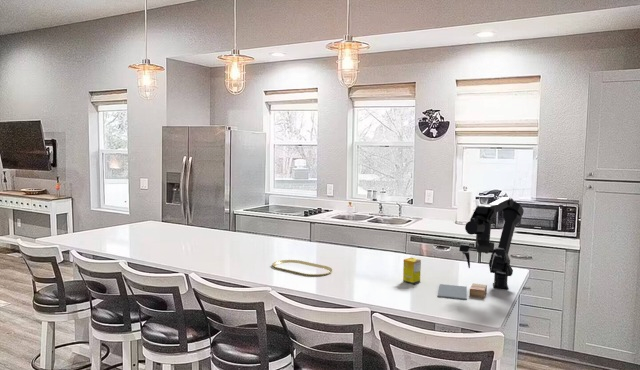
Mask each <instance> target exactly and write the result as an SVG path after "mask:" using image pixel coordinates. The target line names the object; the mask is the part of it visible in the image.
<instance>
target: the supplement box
mask: <svg viewBox="0 0 640 370" xmlns="http://www.w3.org/2000/svg"><path fill="white" fill-rule="evenodd" d="M421 264H422V260H421V259H419V258H414V257H409V258H403V270H402V272H403V273H402V275H403V276H402V282H403V283H406V284H410V285H415V284H418V283H421V268H422V267H421V266H422V265H421Z"/></svg>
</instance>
